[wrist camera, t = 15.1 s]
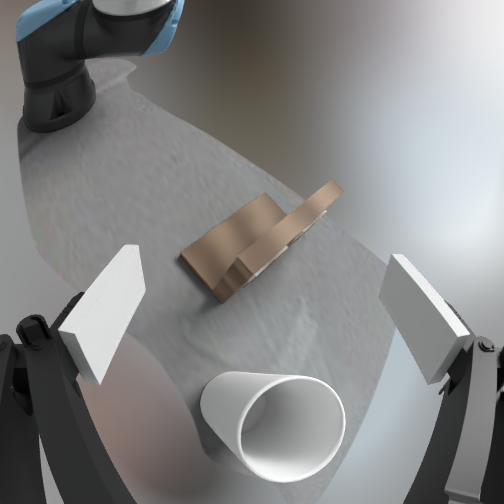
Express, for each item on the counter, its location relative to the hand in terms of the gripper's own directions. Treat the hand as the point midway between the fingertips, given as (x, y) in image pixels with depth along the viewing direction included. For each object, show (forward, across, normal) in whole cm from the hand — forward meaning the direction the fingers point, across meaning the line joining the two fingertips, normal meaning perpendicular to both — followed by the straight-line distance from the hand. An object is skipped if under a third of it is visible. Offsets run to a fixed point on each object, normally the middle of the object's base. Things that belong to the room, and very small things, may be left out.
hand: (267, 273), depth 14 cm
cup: (+7, -2, -22) cm, 23 cm away
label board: (+23, -1, -9) cm, 24 cm away
